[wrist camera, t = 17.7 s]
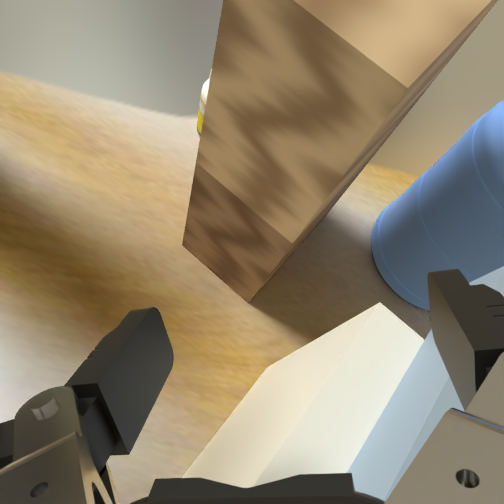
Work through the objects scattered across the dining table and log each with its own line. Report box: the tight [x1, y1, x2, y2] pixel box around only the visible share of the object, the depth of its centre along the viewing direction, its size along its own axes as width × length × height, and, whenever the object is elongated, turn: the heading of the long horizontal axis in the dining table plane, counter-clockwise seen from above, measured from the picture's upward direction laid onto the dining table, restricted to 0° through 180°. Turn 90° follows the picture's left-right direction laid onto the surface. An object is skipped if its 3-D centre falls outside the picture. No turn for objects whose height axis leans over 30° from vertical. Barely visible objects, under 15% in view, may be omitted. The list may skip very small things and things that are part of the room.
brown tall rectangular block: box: [182, 0, 498, 303], centre depth 36 cm, size 10×16×32 cm, turn 141°
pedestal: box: [181, 302, 424, 488], centre depth 29 cm, size 10×14×24 cm
